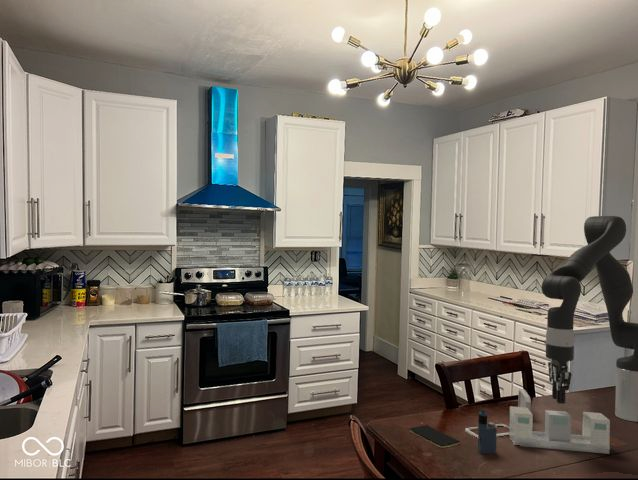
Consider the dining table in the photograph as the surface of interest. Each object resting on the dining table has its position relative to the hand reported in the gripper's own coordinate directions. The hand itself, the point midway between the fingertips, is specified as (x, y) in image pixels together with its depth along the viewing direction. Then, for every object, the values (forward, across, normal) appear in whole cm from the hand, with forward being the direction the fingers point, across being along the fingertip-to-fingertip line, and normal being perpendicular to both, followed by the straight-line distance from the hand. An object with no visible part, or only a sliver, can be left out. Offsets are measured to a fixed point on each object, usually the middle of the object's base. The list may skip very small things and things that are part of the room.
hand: (558, 400), depth 146 cm
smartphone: (+14, -2, +36) cm, 39 cm away
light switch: (+13, +26, +3) cm, 29 cm away
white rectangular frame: (+14, +6, +18) cm, 23 cm away
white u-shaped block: (+13, 0, 0) cm, 13 cm away
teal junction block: (+13, +8, -12) cm, 20 cm away
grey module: (+12, 0, 0) cm, 12 cm away
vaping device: (+13, -10, +22) cm, 28 cm away
